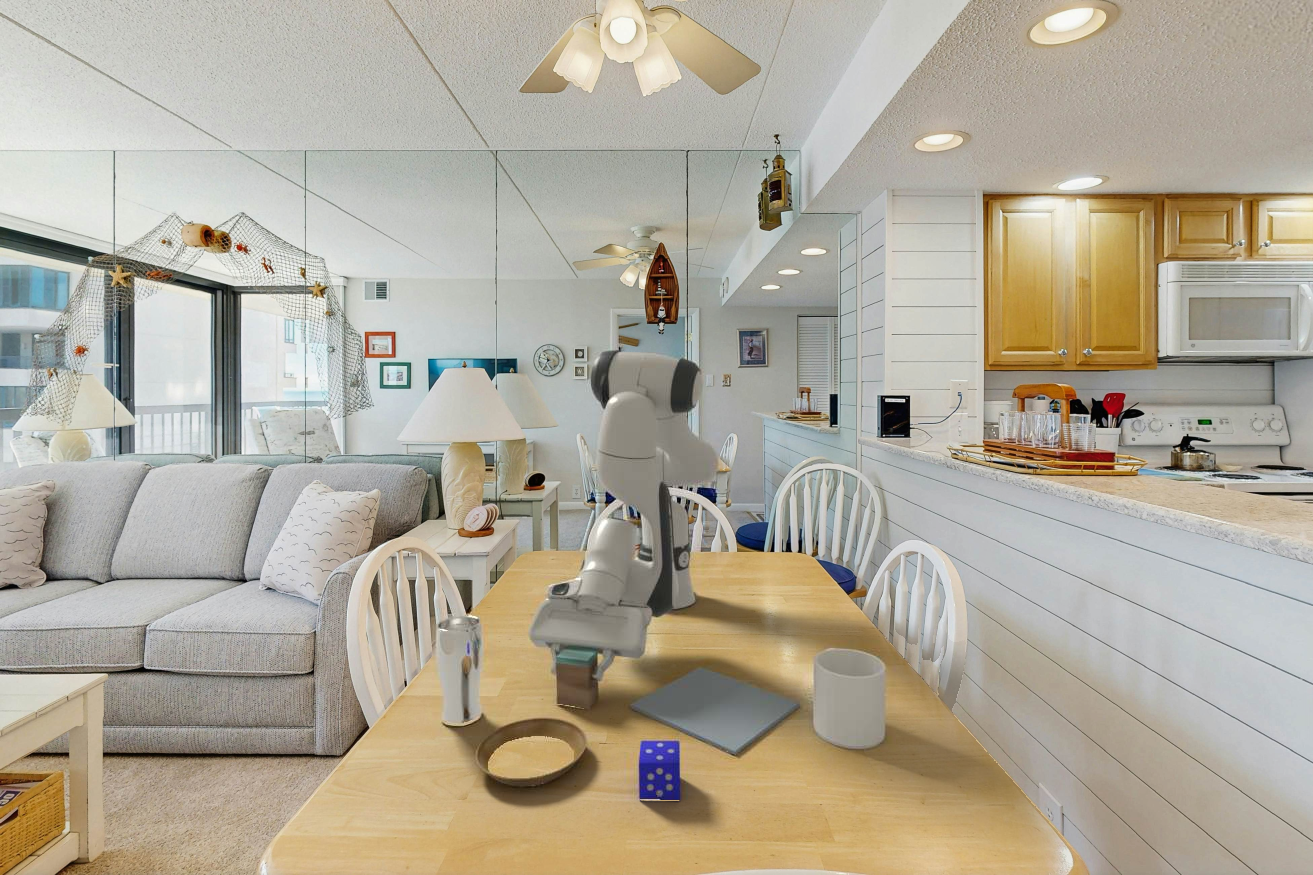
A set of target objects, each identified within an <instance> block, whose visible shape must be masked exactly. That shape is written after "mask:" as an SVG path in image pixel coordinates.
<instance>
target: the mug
mask: <svg viewBox="0 0 1313 875" xmlns="http://www.w3.org/2000/svg"><path fill="white" fill-rule="evenodd" d="M886 671H887V670H886V664H885V663H884V661H883V660H881V659H880V658H879V657H878V656H875V655H873V654H871V653H868V652H864V651H861V650H857V649H856V650H855V649H850V648H849V649H848V648H836V647H829V648H828V647H827V648H826V650H825V649H824V650H821V651H819V652H818V653H816V654H815V655H814V656H813V729H814V731H815V733H816V734H817V735H818V736H819V737H820V738H821V739H822V740H824V741H826V742H827V743H828V744H832V745H833V746H835V747H840V748H843V749H849V750H866V749H867V748H868V749H872V748H874V747H877V746H879V745H880V744H881V743H882V742H883V741H884V739H885V736H886Z"/></svg>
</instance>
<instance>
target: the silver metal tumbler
mask: <svg viewBox="0 0 1313 875" xmlns="http://www.w3.org/2000/svg"><path fill="white" fill-rule="evenodd" d="M435 627H436V631H435V633H436V634H435V661H436V666H437V672H438V676H439V677H438V678H439V682H440V685H441V691H442V699H443V700H442V701H443V702H442V712H441V716H442V719H443V720H444V721H446V722H450V723H464V722H468V721H470V720H473V719H475V718H477V717H478V716H479V715H480V714H481V713H482V714H483V708H482V704H481V700H480V681H481V676H482V668H483V660H484V640H483V630H482V629H483V628H482V620H481V618H480V617H477V616H476V615H475V616H474V615H456V616H455V615H454V616H452V617H447V618H444V619H442V620H440V621H439V622H438V623H437V624H436V626H435Z"/></svg>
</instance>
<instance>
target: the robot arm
mask: <svg viewBox="0 0 1313 875" xmlns="http://www.w3.org/2000/svg"><path fill="white" fill-rule="evenodd" d="M703 385H704V384H703V376H702V370H701V369H700V367H699V366H698V365H697V363H696V362H694V361H692V360H690V359H686V358H683V357H682V358H677V357H672V356H669V355H664V354H659V353H654V352H649V353H648V352H637V351H620V350H619V349H618V350H616V349H615V350H605V351H602V352H601V353H600V354H599V355H598V356H597V357H596V358H595V360H594V362H593V364H592V369H591V373H590V387H591V390H592V394H593V395H594V397H595V399H596V400H597V401H598V402H600V405H601V408H602V409H603V410H604V411H603V415H602V418H601V423H600V427H599V431H598V432H599V433H598V438H597V447H596V453H595V454H596V457H595V458H596V459H595V473H596V478H597V480H598V481H599V483H600V485H601V486H602V487H603V489H604V490H605V491H606V492H607V493H608V494H610V495H611V496H612V497H614V498H615V499H617V500H618V501H620V502H622V503H624V504H626V505H627V506H628V507H631V509H634V510H636V511H637V512H638V513H640V519H641V532H642V535H641V536H642V542H641V543H637V539H638V538H637V537H638V528H637V526H636V525H635V524H634V523H632V522H631V521H629V520H627V519H623V518H619V517H613V516H610V517H609V516H608V517H604V518H602V519H600V520H599V521H598V523H597V525H596V527H595V528H594V531H593V533H592V535H591V537H590V539H589V543H588V546H587V548H586V551H585V554H584V558H583V560H582V564H581V566H580V570H579V571H580V572H579V574H578V577H577V578H574V579H570V580H567V581H562V582H559V583H554V584H550V585H549V586H548V587H547V589H546V592H545V593H546V597H547V598H546V599H544V600H542V602H541V603H540V604H539V605H538V608H537V609H536V611H535V614H534V616H533V618H532V621H531V624H530V626H529V629H528V637H529V640H530V641H531V642H532V643H533V645H534V646H535V647H536V648H544V649H545V648H546V649H550V652H551V659H552V662H553V663H552V666H551V668H550V673H551V674H552V675H553V676H556V656H558V655H559V654H560V653H561V652H562V651H563V650H564V649H565V648H566V647H570V648H578V649H587V650H596V651H597V652H598V655H601V656H602V658H603V659H602V660H601V661H600V662H599V664H598V666H593V667H592V672H591V675H590V677H591V679H592V680H596V681H598V682H602V681H603V677H604V673H605V672H606V671H607V670H608V668H610V666H611V665H612V664H613V663H614V660H615V657H621V658H632V659H640V658H641V657H642V656H643V655H644V654H645V652H646V647H647V646H646V645H647V638H648V637H647V634H648V626H650V624H651V621H652V617H653V618H660V617H662V616H664V615H667V614H668V613H669V612H670V611H672V610H679V609H683V608H686V607H688V606H691V605H693V604H695V602H696V597H695V596H696V595H695V593H694V590H693V583H692V577H691V571H690V570H691V569H690V560H691V543H690V542H689V514H688V512H687V510H686V508H685V507H684V506H683V505H682V504H680V503H679V502H677V501H675V500H673V499H672V498H671V493H670V488H669V487H694V486H699V485H705V484H708V483H711V482H712V481H713V479H714V478H715V477H716V476H717V473H718V470H719V457H718V454H717V451H716V450H715V448H714V447H713V446H712V445H711V444H710V443H708V442H707V441H705V440H703V439H701V438H700V437H699V436H697V435H696V434H695V433H694V432H693V431H692V429H691V428H690V426H689V423H688V422H689V421H688V415H687V413H689V412H690V411H692V410H693V409H695V408H696V406H697V404H698V402H699V400H700V398H701V396H702V392H703ZM636 550H638V552H637V556H636V557H635V554H636Z"/></svg>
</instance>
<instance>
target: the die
mask: <svg viewBox="0 0 1313 875" xmlns="http://www.w3.org/2000/svg"><path fill="white" fill-rule="evenodd" d="M680 744H681V743H680V741H679V740H641V741H640V745H639V746H640V747H639V757H638V792H639V794H638V800H639V799H660V800H680V801H681V761H680V760H681V754H680V753H681V752H680V749H681V748H680V746H681V745H680Z"/></svg>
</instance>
